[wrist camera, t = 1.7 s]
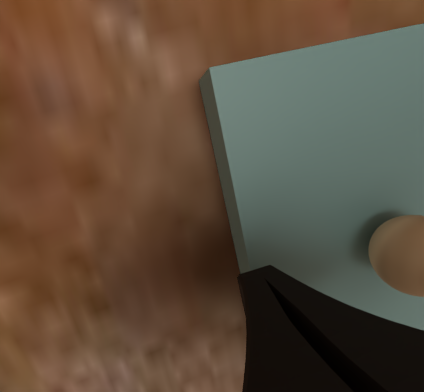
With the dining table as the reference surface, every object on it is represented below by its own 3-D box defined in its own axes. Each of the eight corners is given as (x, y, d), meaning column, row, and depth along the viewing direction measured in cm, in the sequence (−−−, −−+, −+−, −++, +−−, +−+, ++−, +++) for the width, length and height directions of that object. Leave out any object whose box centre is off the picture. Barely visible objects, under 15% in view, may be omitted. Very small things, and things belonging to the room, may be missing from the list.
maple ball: (412, 197, 11) (499, 221, 8) (412, 258, 12) (491, 299, 9) (349, 216, 11) (417, 248, 8) (353, 278, 12) (416, 327, 9)
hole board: (552, 6, 13) (641, -22, 10) (515, 280, 17) (571, 305, 15) (198, 80, 11) (209, 67, 8) (261, 371, 15) (279, 416, 13)
